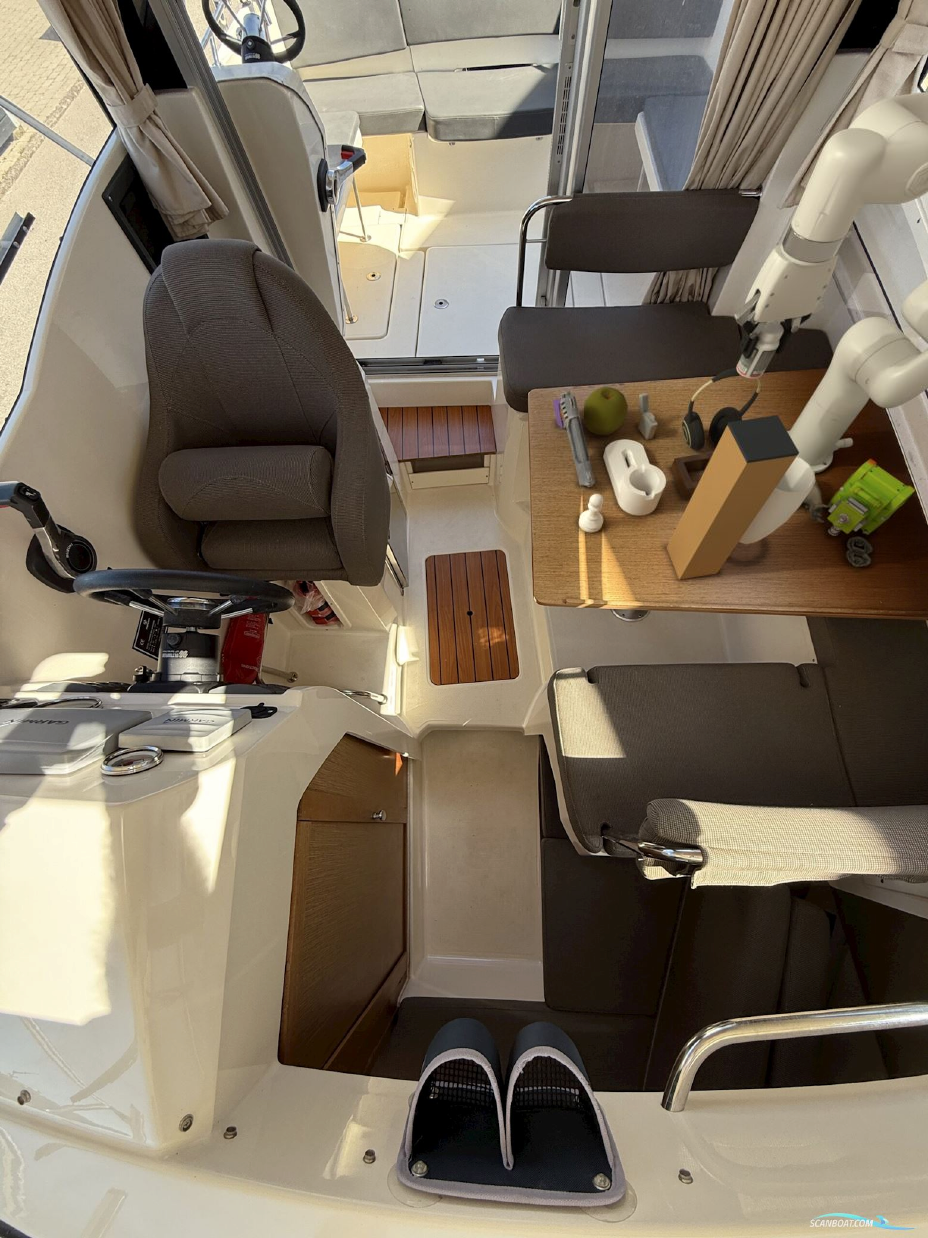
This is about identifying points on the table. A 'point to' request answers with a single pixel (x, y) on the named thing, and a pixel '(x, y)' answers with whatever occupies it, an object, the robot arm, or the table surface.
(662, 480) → the bracket
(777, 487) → the cup
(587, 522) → the chess pawn
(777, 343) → the pill bottle
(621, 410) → the apple
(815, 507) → the rhino figurine
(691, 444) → the headphones
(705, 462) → the holder
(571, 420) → the handgun
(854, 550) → the corroded twin loop
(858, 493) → the lime green boxy piece
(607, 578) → the table surface
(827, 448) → the robot arm
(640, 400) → the grey angled piece
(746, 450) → the black-topped square pillar
